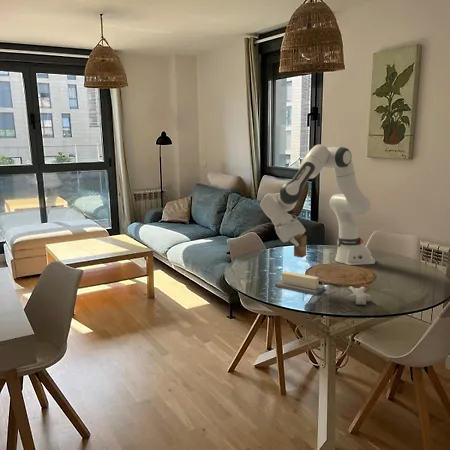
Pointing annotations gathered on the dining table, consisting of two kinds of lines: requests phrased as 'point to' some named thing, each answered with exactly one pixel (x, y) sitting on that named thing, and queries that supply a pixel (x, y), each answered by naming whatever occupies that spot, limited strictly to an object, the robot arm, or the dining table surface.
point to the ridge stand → (300, 283)
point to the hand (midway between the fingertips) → (301, 244)
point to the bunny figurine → (359, 295)
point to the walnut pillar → (300, 246)
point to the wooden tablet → (362, 286)
